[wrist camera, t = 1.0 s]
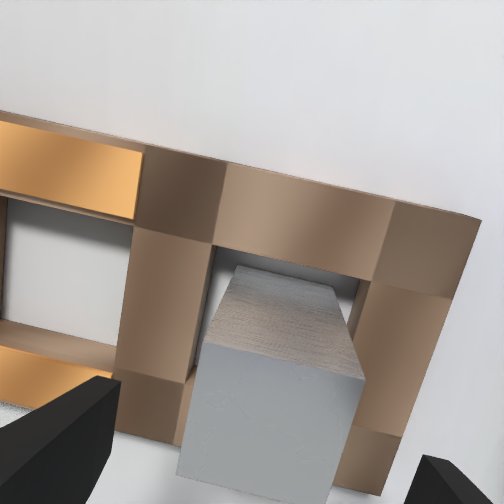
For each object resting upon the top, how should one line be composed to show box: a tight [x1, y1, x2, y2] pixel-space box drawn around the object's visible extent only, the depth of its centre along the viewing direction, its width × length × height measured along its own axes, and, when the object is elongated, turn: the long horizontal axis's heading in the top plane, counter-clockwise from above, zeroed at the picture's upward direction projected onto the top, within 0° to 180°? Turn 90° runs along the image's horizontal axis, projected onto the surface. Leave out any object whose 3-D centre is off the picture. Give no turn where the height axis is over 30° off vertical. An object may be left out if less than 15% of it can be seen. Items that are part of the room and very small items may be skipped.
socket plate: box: [0, 110, 482, 496], centre depth 16 cm, size 21×12×2 cm, turn 78°
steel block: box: [176, 265, 366, 504], centre depth 13 cm, size 4×4×7 cm
